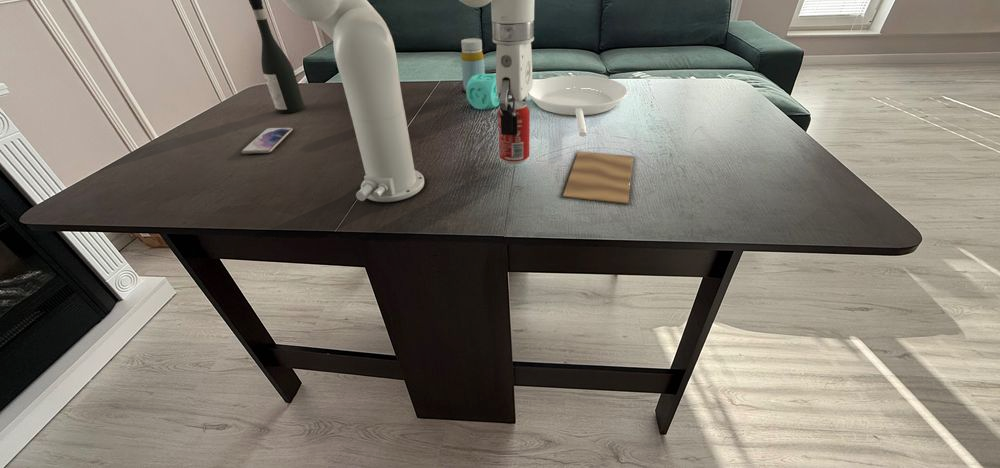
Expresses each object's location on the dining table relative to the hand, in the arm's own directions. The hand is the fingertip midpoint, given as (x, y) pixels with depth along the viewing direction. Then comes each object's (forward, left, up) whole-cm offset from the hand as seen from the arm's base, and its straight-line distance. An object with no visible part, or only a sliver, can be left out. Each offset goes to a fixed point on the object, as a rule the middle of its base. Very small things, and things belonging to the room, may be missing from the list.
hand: (514, 127), depth 86 cm
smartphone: (0, +65, -9) cm, 65 cm away
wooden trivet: (0, -18, -9) cm, 20 cm away
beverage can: (0, 0, -7) cm, 7 cm away
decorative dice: (+37, +19, -9) cm, 43 cm away
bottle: (+50, +27, -9) cm, 58 cm away
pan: (+36, -8, -9) cm, 38 cm away
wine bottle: (+22, +76, -9) cm, 80 cm away
